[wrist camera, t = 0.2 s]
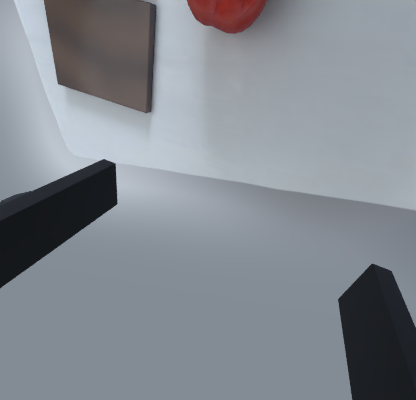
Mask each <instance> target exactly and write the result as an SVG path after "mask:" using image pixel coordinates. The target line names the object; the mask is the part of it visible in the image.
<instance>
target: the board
mask: <svg viewBox="0 0 416 400" xmlns="http://www.w3.org/2000/svg"><path fill="white" fill-rule="evenodd" d="M44 4H45V10H46V16H47V22H48V28H49V33H50V39H51V45H52V51H53V57H54V63H55V69H56V75H57V81H58V84H60V85H63V86H66V87H69V88H72V89H75V90H78V91H81V92H84V93H87V94H90V95H93V96H96V97H99V98H102V99H105V100H108V101H111V102H114V103H117V104H120V105H123V106H126V107H129V108H132V109H135V110H138V111H141V112H144V113H148V112H151V97H152V77H153V57H154V37H155V17H156V5H154V4H152V3H148V2H144V1H139V0H44Z"/></svg>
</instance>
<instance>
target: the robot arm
mask: <svg viewBox="0 0 416 400" xmlns="http://www.w3.org/2000/svg"><path fill="white" fill-rule="evenodd" d="M115 165H116V164H115V163H112V162H110V161H107V160H105V159H103V160H101V161H99V162H96V163H94V164H92V165H90V166H88V167H85V168H83V169H81V170H78V171H76V172H74V173H72V174H70V175H68V176H65V177H63V178H61V179H58V180H56V181H54V182H52V183H49V184H47V185H45V186H43V187H41V188H38V189H36V190H34V191H29V192H25V193H21V194H17V195H14V196H11V197H9V198H7V199H5V200H2V201H1V202H0V288H1V287H2V286H4V285H5V284H6V283H8V282H9V281H11V280H12V279H13V278H15V277H16V276H18V275H19V274H20V273H22V272H23V271H25V270H26V269H28V268H29V267H30V266H32V265H33V264H35V263H36V262H37V261H39V260H40V259H42V258H43V257H44V256H46V255H47V254H49V253H50V252H51V251H53V250H54V249H55V248H57V247H58V246H60V245H61V244H62V243H64V242H65V241H66V240H68V239H69V238H71V237H72V236H73V235H75V234H76V233H78V232H79V231H80V230H81V229H83V228H85V227H86V226H87V225H89V224H90V223H91V222H93V221H95V220H96V219H97V218H98V217H100V216H101V215H103V214H104V213H105V212H107V211H108V210H110V209H111V208H113V207H114V206H115V205H117V185H116V166H115ZM338 302H339V308H340V315H341V323H342V330H343V337H344V344H345V350H346V358H347V365H348V372H349V379H350V386H351V394H352V400H416V328H415V325H414V323H413V321H412V318H411V316H410V313H409V311H408V309H407V306H406V304H405V302H404V299H403V297H402V295H401V292H400V290H399V288H398V285H397V283H396V281H395V278H394V276H393V274H392V271H390V270H388V269H385V268H382V267H380V266H377V265H375V264H371V265H370V266H369V267H368V268H367V269H366V270H365V272H364V273H363V274H362V275H361V276H360V277H359V278H358V279H357V280H356V281H355V282H354V283H353V284H352V285H351V287H349V288H348V290H346V291H345V292H344V294H343V295H342V296H341V297H340V298H339V299H338Z"/></svg>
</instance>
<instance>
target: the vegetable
mask: <svg viewBox="0 0 416 400" xmlns="http://www.w3.org/2000/svg"><path fill="white" fill-rule="evenodd" d="M266 1H267V0H187V2H188V5H189V7H190V9H191V11H192V13H193V15H194V17H195V18H196V20H198V21H199V22H200V23H202V24H203V25H206V26H213V27H216V28H218V29H220V30H222V31H224V32H226V33H238V32H242V31H244V30H245V29H246V28H248V27H249V26H250V25H251V24H252V23H253V22H254V21H255V20H256V19H257V17H258V16H259V15H260V13H261V12H262V10H263V7H264V6H265V3H266Z"/></svg>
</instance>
